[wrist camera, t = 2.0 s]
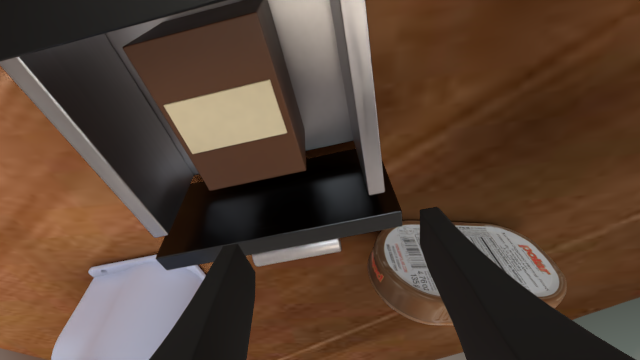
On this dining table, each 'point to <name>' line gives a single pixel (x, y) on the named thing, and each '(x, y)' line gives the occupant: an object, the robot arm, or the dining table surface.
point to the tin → (418, 286)
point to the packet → (225, 92)
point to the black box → (76, 20)
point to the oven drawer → (178, 170)
